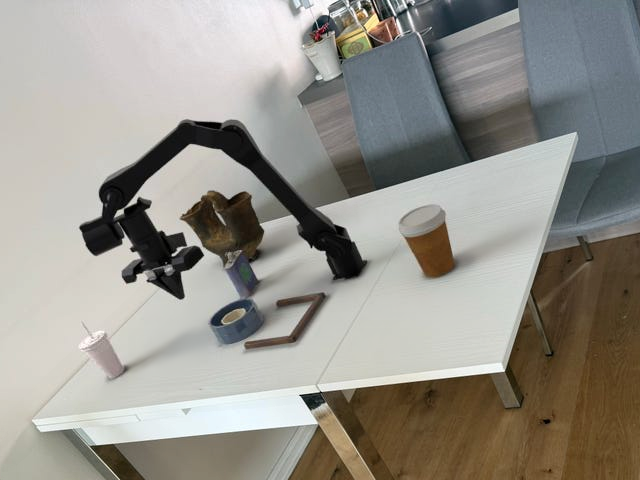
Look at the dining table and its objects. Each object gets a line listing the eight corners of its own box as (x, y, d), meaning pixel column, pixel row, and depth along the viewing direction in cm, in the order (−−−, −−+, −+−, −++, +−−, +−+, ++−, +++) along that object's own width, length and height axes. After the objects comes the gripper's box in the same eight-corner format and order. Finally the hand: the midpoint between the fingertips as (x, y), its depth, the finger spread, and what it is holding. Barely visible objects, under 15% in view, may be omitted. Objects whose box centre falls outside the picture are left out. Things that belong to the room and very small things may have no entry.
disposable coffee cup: (410, 285, 135) (388, 231, 129) (425, 259, 142) (405, 208, 136) (454, 278, 131) (434, 223, 124) (468, 253, 137) (449, 199, 131)
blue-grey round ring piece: (272, 313, 149) (262, 295, 146) (250, 342, 141) (239, 324, 139) (234, 319, 154) (224, 302, 151) (211, 348, 146) (199, 330, 144)
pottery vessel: (288, 246, 179) (253, 176, 169) (262, 269, 173) (224, 198, 163) (227, 250, 195) (192, 187, 185) (201, 271, 189) (164, 207, 179)
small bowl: (256, 319, 148) (249, 307, 146) (245, 335, 144) (237, 321, 142) (236, 323, 150) (229, 310, 149) (224, 338, 146) (217, 325, 145)
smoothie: (113, 383, 150) (76, 332, 143) (98, 381, 154) (60, 331, 147) (134, 364, 154) (99, 314, 147) (119, 363, 158) (83, 314, 151)
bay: (326, 297, 145) (323, 291, 144) (295, 344, 133) (292, 338, 132) (280, 305, 151) (277, 300, 150) (246, 351, 139) (243, 345, 138)
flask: (249, 299, 160) (227, 260, 155) (238, 302, 161) (216, 263, 156) (261, 279, 167) (240, 241, 162) (250, 282, 168) (229, 245, 163)
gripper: (197, 207, 141) (234, 271, 149) (133, 225, 149) (170, 285, 157) (168, 233, 133) (208, 300, 141) (102, 250, 141) (143, 312, 149)
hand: (182, 298), depth 147 cm, fingers closed
